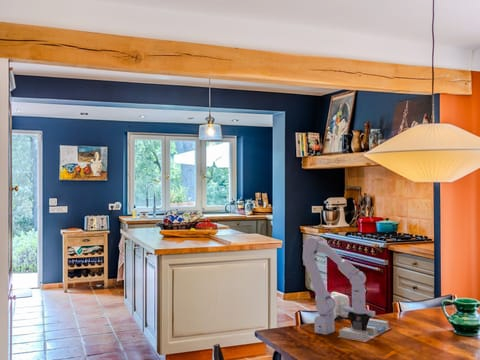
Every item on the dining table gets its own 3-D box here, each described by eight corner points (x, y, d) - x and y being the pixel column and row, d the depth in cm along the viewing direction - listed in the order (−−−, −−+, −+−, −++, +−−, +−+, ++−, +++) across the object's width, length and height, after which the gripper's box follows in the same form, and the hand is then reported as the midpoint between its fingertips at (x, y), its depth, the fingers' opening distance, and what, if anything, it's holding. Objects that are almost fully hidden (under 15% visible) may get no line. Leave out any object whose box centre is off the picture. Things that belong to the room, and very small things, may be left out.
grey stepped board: (365, 344, 203) (364, 334, 203) (337, 338, 212) (337, 328, 212) (390, 330, 223) (390, 321, 223) (364, 325, 232) (364, 316, 232)
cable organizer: (317, 314, 255) (317, 292, 255) (334, 312, 259) (333, 290, 260) (333, 321, 241) (332, 297, 242) (351, 318, 245) (350, 295, 246)
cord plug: (361, 336, 211) (361, 318, 211) (353, 335, 213) (352, 316, 214) (365, 334, 214) (365, 316, 214) (357, 333, 217) (357, 315, 217)
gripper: (377, 300, 212) (378, 331, 212) (348, 296, 222) (348, 325, 222) (370, 303, 207) (371, 334, 207) (340, 298, 217) (341, 329, 216)
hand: (359, 330), depth 214 cm, fingers closed on cord plug, 4 cm apart
